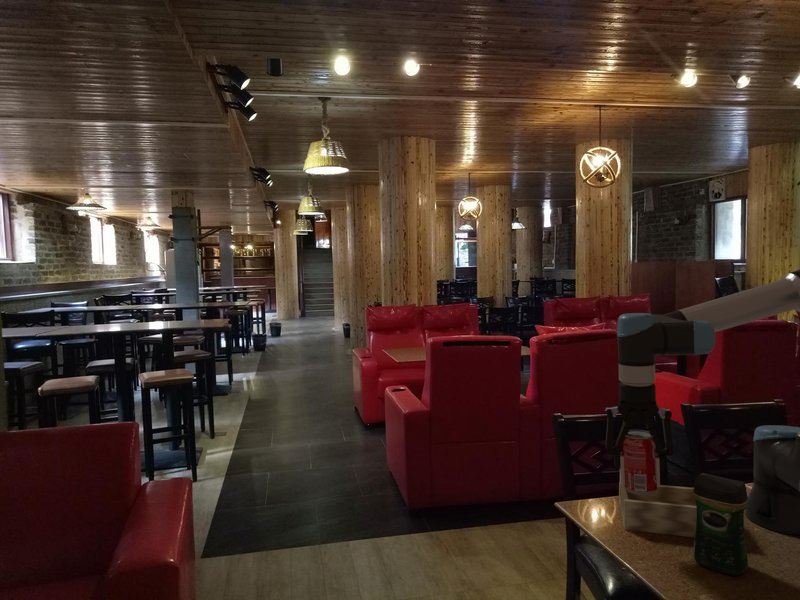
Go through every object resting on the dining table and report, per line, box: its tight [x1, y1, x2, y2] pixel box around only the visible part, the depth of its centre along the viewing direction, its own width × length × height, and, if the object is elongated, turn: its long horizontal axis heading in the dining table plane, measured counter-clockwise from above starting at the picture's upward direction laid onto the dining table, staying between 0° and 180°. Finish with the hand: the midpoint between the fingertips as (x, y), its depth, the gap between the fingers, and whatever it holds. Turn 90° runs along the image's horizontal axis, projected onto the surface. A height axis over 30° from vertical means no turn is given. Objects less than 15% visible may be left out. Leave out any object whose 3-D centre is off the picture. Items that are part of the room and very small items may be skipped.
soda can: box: [621, 429, 657, 495], centre depth 120 cm, size 7×7×13 cm
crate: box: [618, 481, 697, 538], centre depth 129 cm, size 22×12×7 cm, turn 73°
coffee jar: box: [692, 472, 749, 576], centre depth 111 cm, size 10×8×19 cm
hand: (639, 483), depth 120 cm, fingers closed on soda can, 6 cm apart
